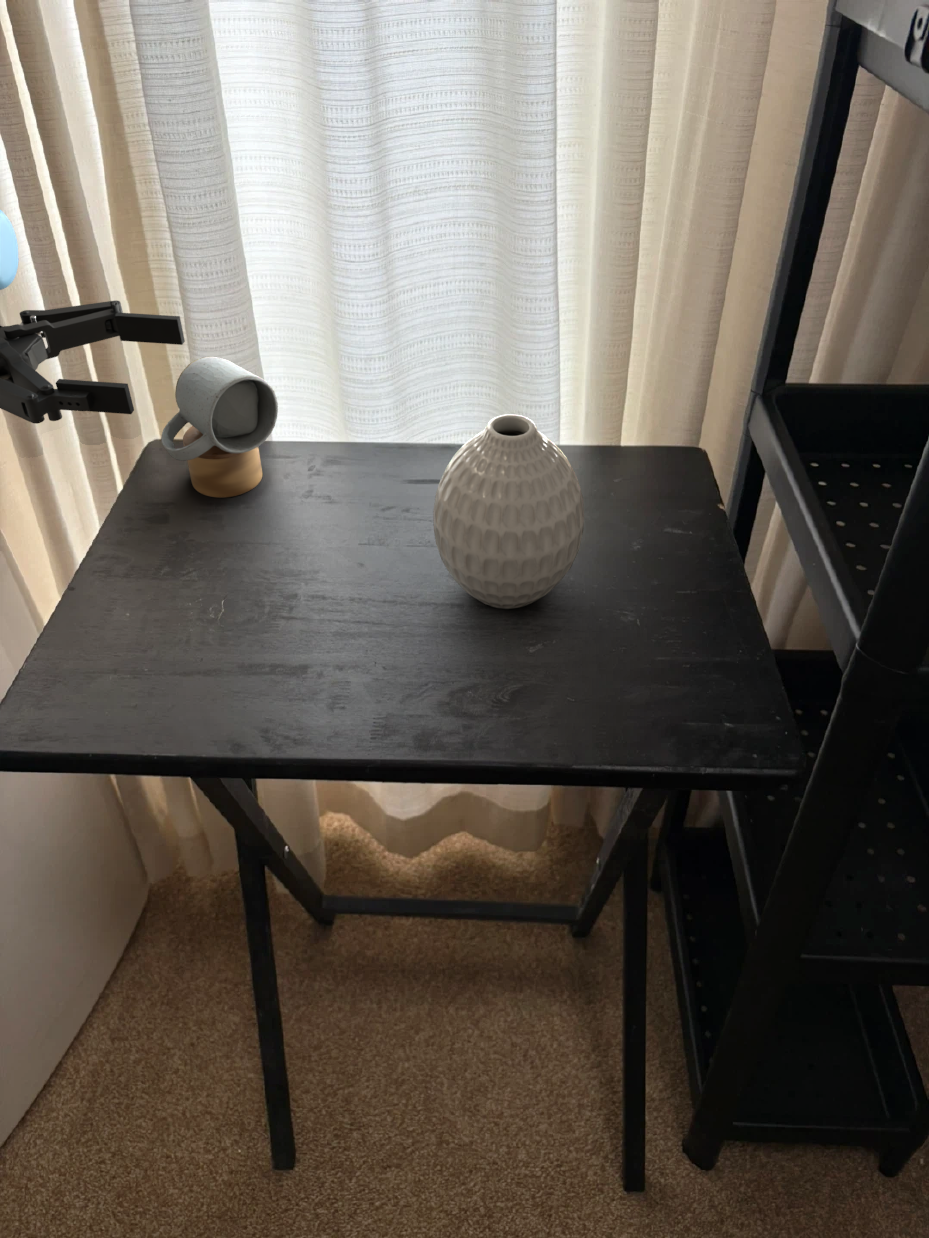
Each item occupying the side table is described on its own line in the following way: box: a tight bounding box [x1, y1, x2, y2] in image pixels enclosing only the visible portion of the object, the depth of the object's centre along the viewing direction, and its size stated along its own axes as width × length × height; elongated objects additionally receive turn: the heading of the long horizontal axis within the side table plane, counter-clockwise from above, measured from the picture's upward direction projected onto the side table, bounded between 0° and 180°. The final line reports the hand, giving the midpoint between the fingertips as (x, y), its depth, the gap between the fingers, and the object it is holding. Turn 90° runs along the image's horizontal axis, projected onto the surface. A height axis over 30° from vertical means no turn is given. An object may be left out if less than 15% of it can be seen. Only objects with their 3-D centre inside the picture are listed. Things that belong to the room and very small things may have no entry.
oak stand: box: [182, 425, 263, 498], centre depth 105 cm, size 7×7×5 cm
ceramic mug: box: [160, 356, 279, 462], centre depth 100 cm, size 11×8×8 cm
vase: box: [432, 413, 585, 610], centre depth 87 cm, size 13×13×17 cm
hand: (157, 363), depth 98 cm, fingers open, 13 cm apart
